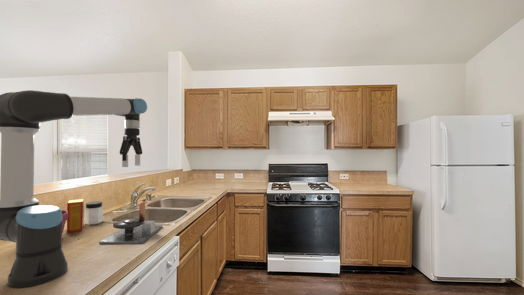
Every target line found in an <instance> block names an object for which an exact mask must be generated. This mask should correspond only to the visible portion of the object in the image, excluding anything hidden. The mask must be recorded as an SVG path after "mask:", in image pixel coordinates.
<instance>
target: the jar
mask: <svg viewBox="0 0 524 295" xmlns="http://www.w3.org/2000/svg"><path fill="white" fill-rule="evenodd" d="M103 221H104V206H103V202H102V201H101V200H98V201H90V202H89V201H88V202H86V203H85V207H84V225H89V226H90V225H91V224H92V225H97V224H98V225H99V224H100V223H103ZM92 225H91V226H92Z"/></svg>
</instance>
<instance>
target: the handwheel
mask: <svg viewBox="0 0 524 295" xmlns="http://www.w3.org/2000/svg"><path fill="white" fill-rule="evenodd" d="M138 204H139V205H138V217H134V218H133V217H132V218H131V217H130V218H125V219H120V220H117V221H114V222H113V223H112V224H113V225H112V226H113V228H114V229H116V230H117V229H119V230H120V229H125V233H132V232H133V227H137V226H142V224H143V223H144V222H146V201H145V200H143V201H142V200H141V201H139V202H138Z"/></svg>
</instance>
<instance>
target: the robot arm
mask: <svg viewBox="0 0 524 295" xmlns="http://www.w3.org/2000/svg"><path fill="white" fill-rule="evenodd" d="M147 111H148V104H147V102H146V101H145V99H142V98H138V97H137V98H118V97H115V98H114V97H93V96H92V97H91V96H70V95H69V94H67V93H63V92H62V93H60V92H52V91H51V92H49V91H41V90H21V91H14V92H5V93H2V94H0V134H1V136H0V137H1V139H0V140H1V141H0V241H5V242H12V243H15V259H14V262H13V263H12V266H11V270H10V272H9V274H8V275H7V285H8V287H10V288H17V289H19V288H27V287H33V286H38V285H41V284H44V283H47V282H50V281H52V280H54V279H57V278H59V277H61V276H63V275H64V274H66V272H67V271H68V269H69V268H68V267H69V265H68V260H67V259H66V257H65V256H66V255H65V254H64V251H63V247H62V246H63V245H62V244H63V243H62V242H63V240H62V239H63V233H62V220H63V216H62V210H63V209H61V207H60V206H59V207H58V206H56V205H52V204H47V205H45V204H40V202H39V200H38V199H37V198H35V196H34V188H35V187H34V185H35V181H34V180H35V179H34V178H35V177H34V176H35V135H36V133H39V131H41V123H46V122H52V121H59V120H69V119H72V118H73V117H85V116H86V117H87V116H88V117H90V116H119V117H124V122H123V123H124V130H123V132H124V135H123V137H122V143H121V146H120V150H119V155H120V156H121V155H122V156H121V158H122V160H121V163H122V164H121V167H122V168H128V167H129V154H128V153H129V151H130V148H131V146H132V148H133V150H134V152H135V154H134V166H141V155H143V149H142V148H143V147H142V144H141V137H138V136H140V130H141V129H140V126H141V124H140V123H141V122H140V119H141V118H140V116H141V115H142V114H145V113H146V112H147Z"/></svg>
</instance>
